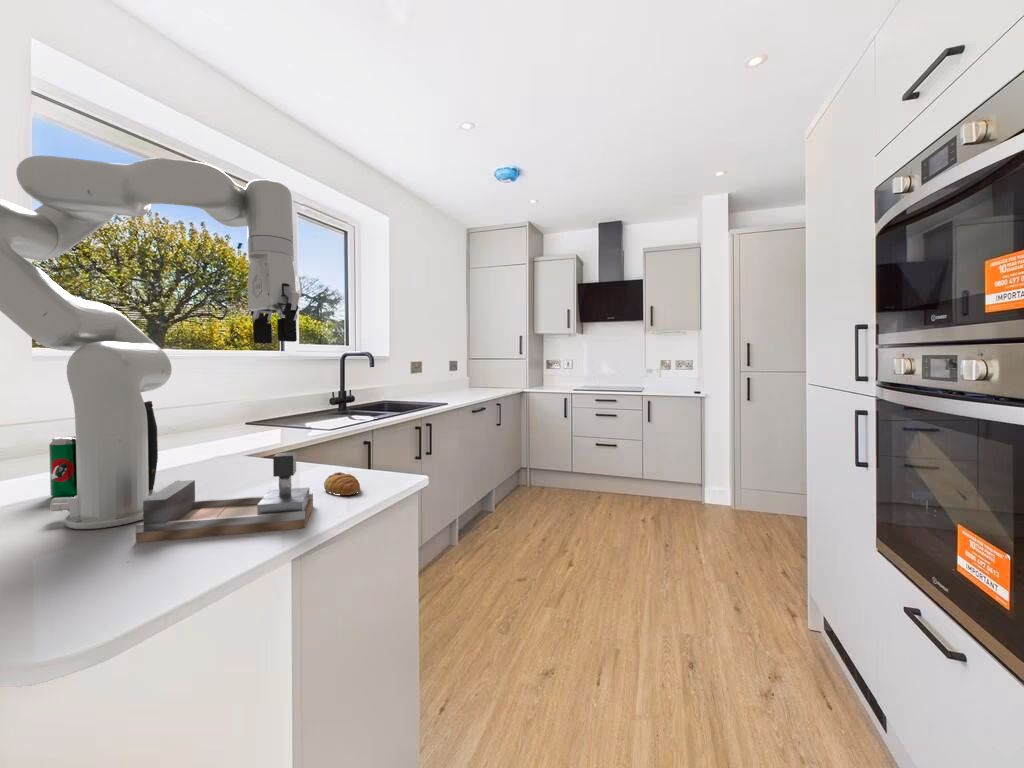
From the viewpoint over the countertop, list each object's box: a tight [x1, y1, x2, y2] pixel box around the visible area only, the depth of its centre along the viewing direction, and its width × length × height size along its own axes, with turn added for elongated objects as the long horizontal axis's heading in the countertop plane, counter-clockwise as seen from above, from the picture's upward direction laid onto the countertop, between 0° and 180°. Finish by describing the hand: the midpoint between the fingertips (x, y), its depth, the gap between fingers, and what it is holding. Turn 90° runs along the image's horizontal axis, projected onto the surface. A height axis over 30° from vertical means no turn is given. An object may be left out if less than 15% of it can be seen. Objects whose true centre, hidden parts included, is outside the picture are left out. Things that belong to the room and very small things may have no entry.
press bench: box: [135, 479, 314, 543], centre depth 78 cm, size 24×12×6 cm, turn 108°
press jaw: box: [257, 451, 310, 515], centre depth 80 cm, size 7×9×10 cm
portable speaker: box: [144, 400, 159, 491], centre depth 93 cm, size 9×9×20 cm
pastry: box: [323, 471, 361, 496], centre depth 98 cm, size 9×7×4 cm
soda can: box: [48, 435, 77, 498], centre depth 91 cm, size 5×5×12 cm
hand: (274, 342), depth 83 cm, fingers open, 9 cm apart
